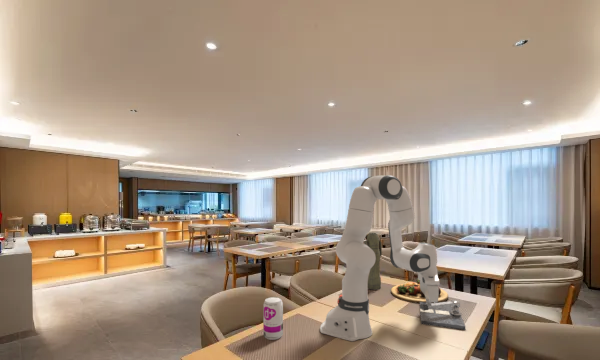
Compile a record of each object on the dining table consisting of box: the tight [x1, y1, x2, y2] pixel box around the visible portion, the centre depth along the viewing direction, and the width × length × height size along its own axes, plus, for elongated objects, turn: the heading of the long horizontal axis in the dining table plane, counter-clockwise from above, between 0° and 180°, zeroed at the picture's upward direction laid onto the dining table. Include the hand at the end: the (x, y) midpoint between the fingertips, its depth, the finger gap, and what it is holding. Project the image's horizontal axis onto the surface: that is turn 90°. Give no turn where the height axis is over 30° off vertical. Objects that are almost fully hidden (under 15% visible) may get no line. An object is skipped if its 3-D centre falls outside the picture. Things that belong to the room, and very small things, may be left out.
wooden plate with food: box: [390, 278, 449, 305], centre depth 176 cm, size 32×32×8 cm
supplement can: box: [262, 296, 284, 341], centre depth 125 cm, size 8×8×15 cm
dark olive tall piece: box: [363, 232, 383, 291], centre depth 190 cm, size 9×12×35 cm
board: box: [419, 302, 466, 331], centre depth 144 cm, size 18×26×5 cm
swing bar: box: [419, 299, 461, 310], centre depth 140 cm, size 21×4×2 cm, turn 105°
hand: (428, 305), depth 142 cm, fingers closed
